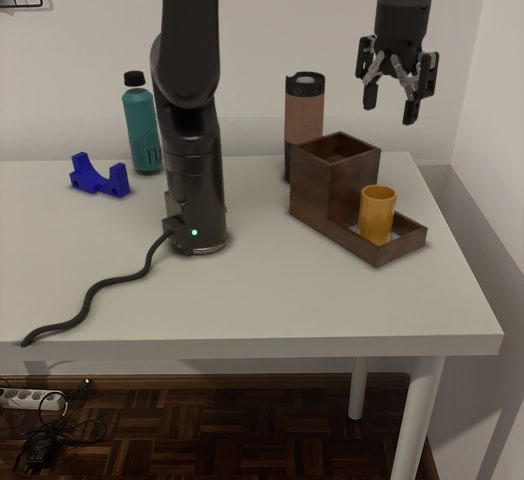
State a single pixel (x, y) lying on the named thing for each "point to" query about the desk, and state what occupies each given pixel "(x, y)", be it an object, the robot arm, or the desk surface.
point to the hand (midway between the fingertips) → (388, 116)
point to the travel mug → (302, 111)
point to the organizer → (344, 195)
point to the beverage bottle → (141, 123)
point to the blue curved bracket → (98, 177)
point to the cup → (376, 213)
